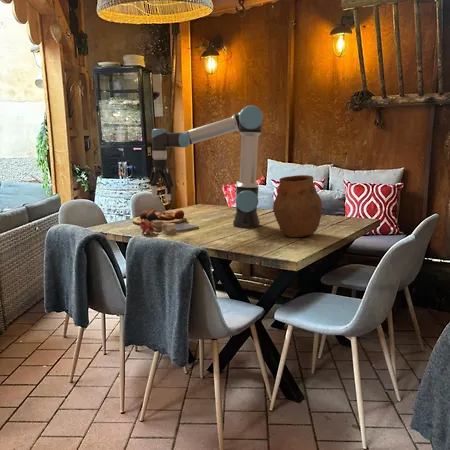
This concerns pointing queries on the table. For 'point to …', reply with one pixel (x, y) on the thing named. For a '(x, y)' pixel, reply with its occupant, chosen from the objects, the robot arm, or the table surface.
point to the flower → (147, 226)
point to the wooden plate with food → (161, 217)
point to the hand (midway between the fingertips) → (161, 199)
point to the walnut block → (158, 225)
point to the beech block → (168, 228)
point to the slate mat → (185, 227)
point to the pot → (297, 206)
